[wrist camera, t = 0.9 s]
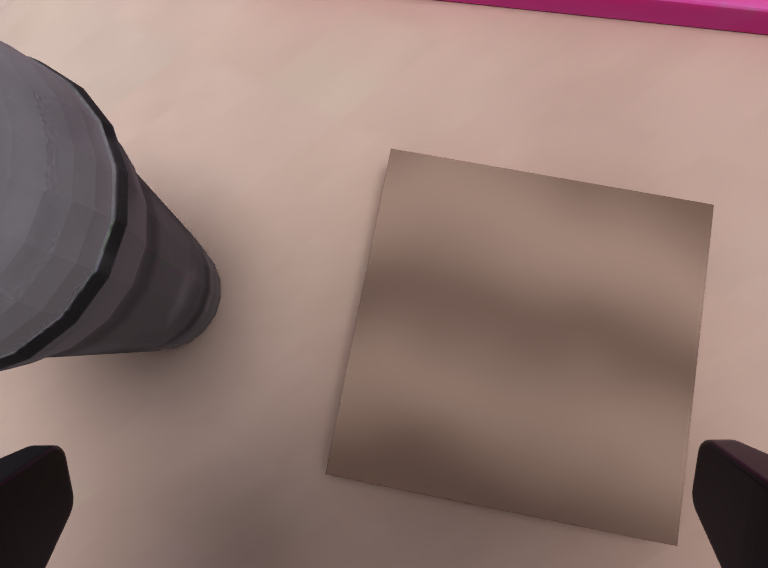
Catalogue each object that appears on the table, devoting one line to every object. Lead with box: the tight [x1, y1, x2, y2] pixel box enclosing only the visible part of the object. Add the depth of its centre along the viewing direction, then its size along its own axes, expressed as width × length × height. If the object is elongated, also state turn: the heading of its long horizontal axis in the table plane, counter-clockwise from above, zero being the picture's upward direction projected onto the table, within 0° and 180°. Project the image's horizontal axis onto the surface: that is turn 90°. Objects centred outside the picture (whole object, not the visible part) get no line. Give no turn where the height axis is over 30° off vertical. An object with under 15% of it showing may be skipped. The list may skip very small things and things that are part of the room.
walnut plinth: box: [326, 149, 714, 546], centre depth 22 cm, size 12×12×2 cm
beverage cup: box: [0, 41, 220, 371], centre depth 14 cm, size 7×7×20 cm
